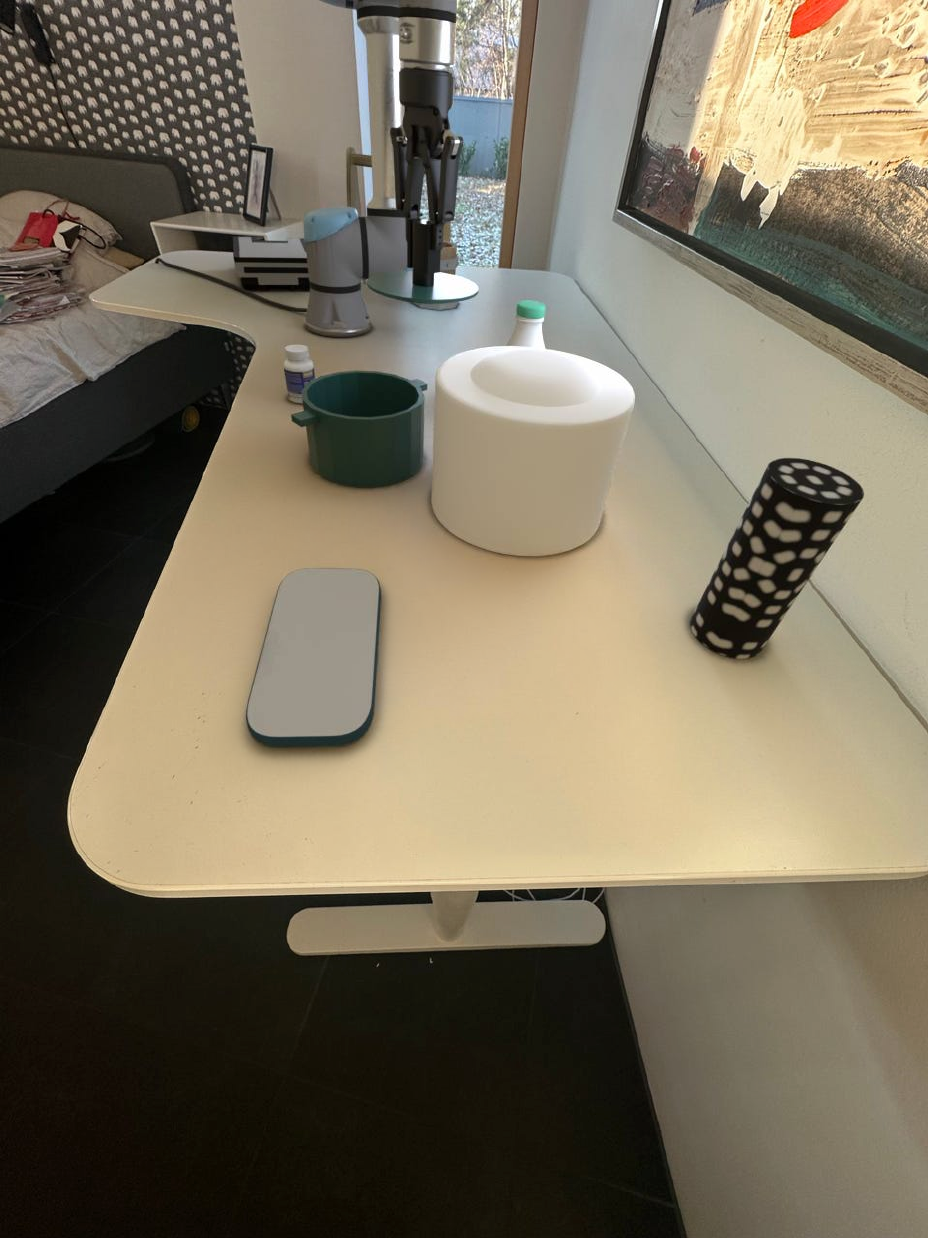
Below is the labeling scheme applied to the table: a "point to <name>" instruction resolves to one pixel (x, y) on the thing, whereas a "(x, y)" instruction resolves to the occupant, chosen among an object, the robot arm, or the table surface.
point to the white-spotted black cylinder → (773, 554)
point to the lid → (422, 279)
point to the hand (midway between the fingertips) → (423, 269)
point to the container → (526, 447)
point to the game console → (271, 263)
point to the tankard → (446, 266)
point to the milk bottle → (528, 325)
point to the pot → (364, 427)
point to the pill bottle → (297, 371)
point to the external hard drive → (318, 660)
